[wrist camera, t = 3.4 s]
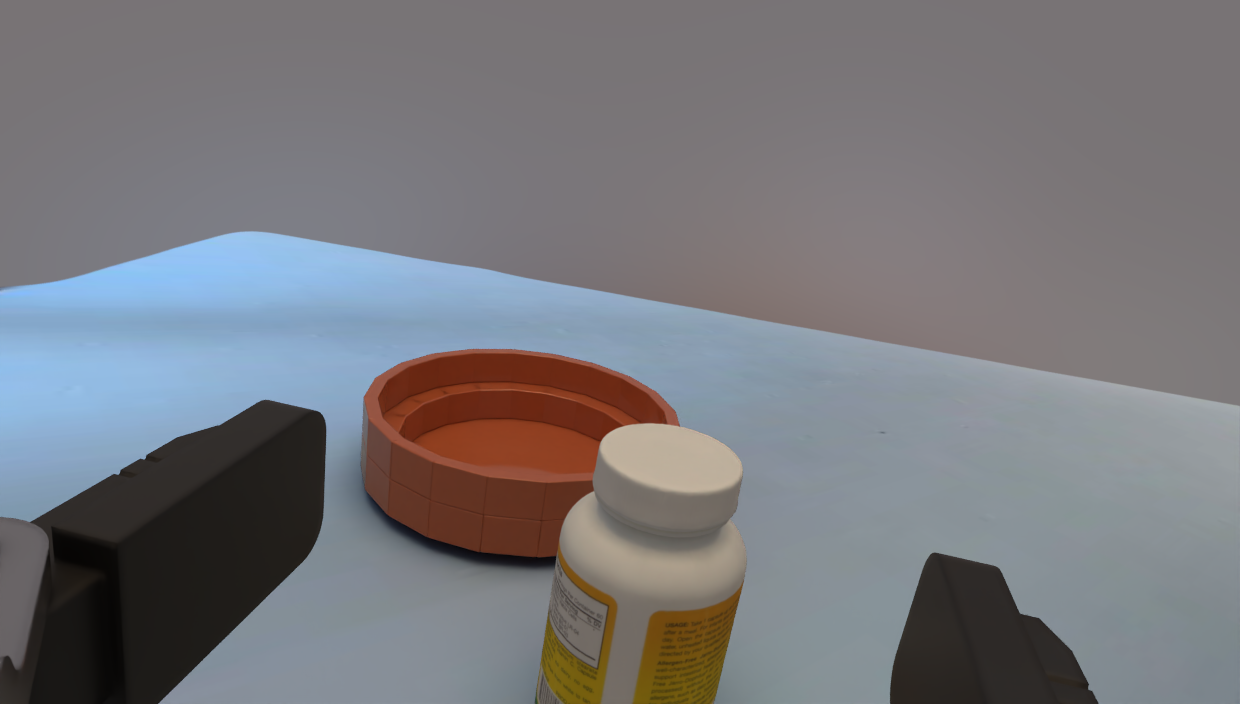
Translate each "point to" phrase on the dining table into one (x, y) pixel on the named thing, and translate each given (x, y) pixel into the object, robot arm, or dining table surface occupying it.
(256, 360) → the dining table surface
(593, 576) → the supplement bottle
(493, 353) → the bowl
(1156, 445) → the dining table surface
